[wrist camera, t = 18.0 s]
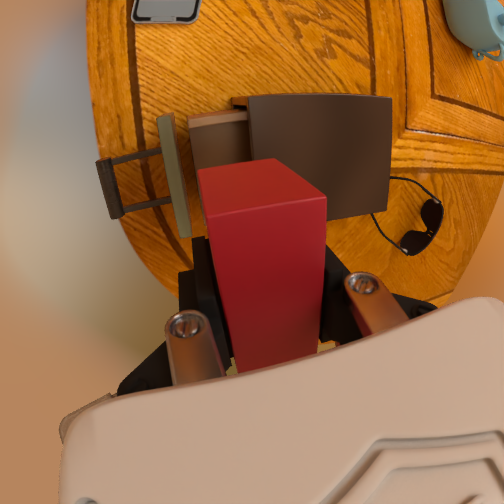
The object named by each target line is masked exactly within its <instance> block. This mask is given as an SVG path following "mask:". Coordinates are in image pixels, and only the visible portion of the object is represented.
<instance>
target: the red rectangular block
mask: <svg viewBox="0 0 504 504" xmlns="http://www.w3.org/2000/svg"><path fill="white" fill-rule="evenodd" d="M197 175H198V181H199V187H200V193H201V198H202V204H203V210H204V215H205V221H206V226H207V232H208V237H209V242H210V247H211V252H212V258H213V263H214V268H215V272H216V277H217V282H218V287H219V292H220V296H221V301H222V306H223V310H224V315H225V320H226V324H227V329H228V333H229V338H230V342H231V346H232V351H233V355H234V359H235V364H236V368H237V372H238V373H243V372H247V371H252V370H256V369H260V368H264V367H268V366H272V365H276V364H280V363H284V362H287V361H291V360H295V359H298V358H302V357H305V356H309V355H312V354H315V353H317V347H318V339H319V329H320V319H321V307H322V295H323V282H324V266H325V246H326V219H327V197H326V195H324V194H323V193H322V192H320V191H319V190H318V189H316V188H315V187H314V186H313V185H311V184H310V183H308V182H307V181H306V180H304V179H303V178H302V177H300V176H299V175H298V174H296V173H295V172H293V171H292V170H291V169H289V168H288V167H286V166H285V165H284V164H282V163H281V162H279V161H278V160H277V159H275V158H271V159H263V160H255V161H248V162H241V163H235V164H228V165H222V166H216V167H210V168H205V169H199V170H197Z"/></svg>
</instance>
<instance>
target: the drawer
mask: <svg viewBox="0 0 504 504" xmlns="http://www.w3.org/2000/svg"><path fill="white" fill-rule="evenodd" d="M156 120H157V126H158V132H159V138H160V144H161V147H156V148H152V149H148V150H143V151H139V152H135V153H131V154H127V155H123V156H119V157H116V158H112V159H111V157H106V158H102V159H100V160H98V161H96V162H95V163H96V166H97V171H98V175H99V179H100V183H101V186H102V190H103V194H104V197H105V200H106V204H107V208H108V211H109V214H110V218H111V219H118V218H121V217H123V216H124V215H125V213H128V212H132V211H137V210H141V209H145V208H150V207H154V206H159V205H164V204H168V203H172V205H173V209H174V214H175V218H176V223H177V227H178V231H179V236H180V238H181V239H182V238H186V237H191V236H192V226H191V214H190V206H189V201H188V196H187V190H186V185H185V180H184V174H183V168H182V163H181V157H180V151H179V145H178V139H177V132H176V126H175V119H174V113H173V112H171V113H166V114H163V115H161V116H159V117H158V118H156ZM187 122H188V129H189V136H190V142H191V149H192V155H193V162H194V168H195V174H196V180H197V186H198V192H199V197H200V203H201V209H202V214H203V220H204V225H205V226H206V221H205V215H204V210H203V204H202V198H201V193H200V187H199V181H198V175H197V170H199V169H205V168H210V167H216V166H222V165H228V164H235V163H241V162H248V161H252V155H251V145H250V134H249V124H248V114H247V108H239V109H231V110H223V111H216V112H209V113H202V114H196V115H191V116H187ZM161 153H162V155H163V160H164V166H165V171H166V176H167V181H168V186H169V191H170V195H171V196H166V197H162V198H157V199H152V200H148V201H144V202H139V203H135V204H131V205H127V206H124V207H123V203H122V200H121V196H120V192H119V188H118V184H117V180H116V176H115V172H114V168H113V165H116V164H120V163H123V162H127V161H131V160H135V159H139V158H144V157H148V156H152V155H157V154H161Z"/></svg>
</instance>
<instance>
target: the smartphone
mask: <svg viewBox="0 0 504 504" xmlns="http://www.w3.org/2000/svg"><path fill="white" fill-rule="evenodd" d="M200 5H201V0H135V1H134V5H133V9H132V13H131V19H132V21H133V22H134V23H135V24H192V23H194V22H195V21H196V20H197V19H198V15H199V10H200Z"/></svg>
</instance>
